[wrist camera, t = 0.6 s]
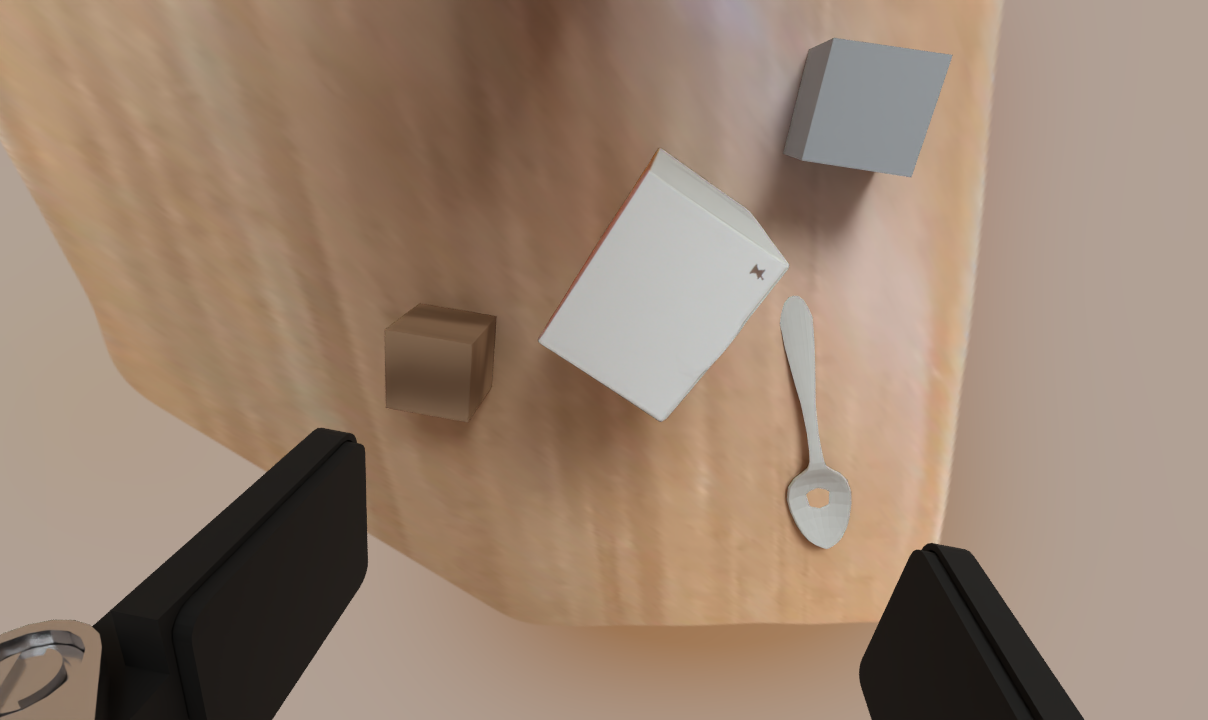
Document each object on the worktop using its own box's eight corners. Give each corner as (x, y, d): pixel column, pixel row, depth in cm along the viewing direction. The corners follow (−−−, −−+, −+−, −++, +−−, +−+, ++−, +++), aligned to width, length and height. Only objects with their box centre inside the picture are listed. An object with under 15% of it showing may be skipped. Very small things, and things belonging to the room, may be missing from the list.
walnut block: (420, 303, 37) (384, 329, 32) (496, 315, 37) (472, 344, 32) (419, 373, 39) (385, 407, 34) (492, 386, 39) (468, 422, 34)
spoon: (791, 538, 41) (796, 554, 40) (749, 256, 34) (753, 263, 32) (852, 531, 41) (859, 547, 39) (823, 241, 33) (830, 247, 32)
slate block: (808, 49, 29) (833, 37, 25) (908, 64, 29) (952, 55, 25) (782, 153, 31) (801, 160, 27) (876, 168, 31) (911, 177, 27)
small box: (658, 144, 32) (649, 163, 20) (752, 210, 33) (797, 266, 21) (581, 265, 35) (533, 344, 23) (668, 323, 36) (665, 427, 24)
